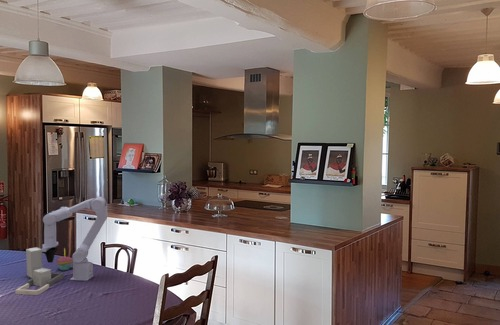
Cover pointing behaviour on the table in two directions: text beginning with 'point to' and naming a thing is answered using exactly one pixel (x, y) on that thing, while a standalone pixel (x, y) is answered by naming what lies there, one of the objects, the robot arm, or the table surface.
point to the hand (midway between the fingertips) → (50, 262)
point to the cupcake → (64, 262)
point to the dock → (55, 279)
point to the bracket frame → (23, 290)
